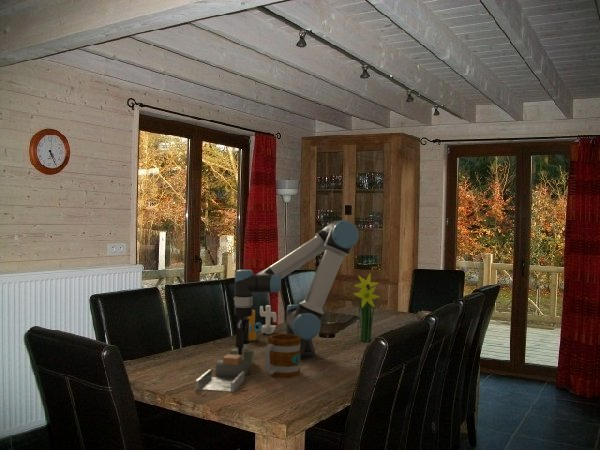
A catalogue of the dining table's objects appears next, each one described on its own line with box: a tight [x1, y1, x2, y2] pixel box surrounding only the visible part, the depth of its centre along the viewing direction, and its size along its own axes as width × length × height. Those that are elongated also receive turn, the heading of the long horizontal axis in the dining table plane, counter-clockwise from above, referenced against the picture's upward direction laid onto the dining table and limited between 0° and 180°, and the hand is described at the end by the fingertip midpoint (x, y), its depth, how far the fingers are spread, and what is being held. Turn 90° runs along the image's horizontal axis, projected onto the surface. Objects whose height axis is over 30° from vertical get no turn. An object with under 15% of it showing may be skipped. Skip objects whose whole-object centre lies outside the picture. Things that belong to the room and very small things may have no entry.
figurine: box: [259, 304, 277, 335], centre depth 311 cm, size 7×9×15 cm
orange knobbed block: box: [248, 309, 263, 342], centre depth 293 cm, size 12×10×15 cm
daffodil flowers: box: [352, 272, 381, 344], centre depth 292 cm, size 17×15×35 cm
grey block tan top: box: [215, 354, 250, 378], centre depth 228 cm, size 13×13×7 cm
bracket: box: [194, 368, 246, 393], centre depth 212 cm, size 14×16×4 cm
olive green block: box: [230, 347, 255, 367], centre depth 243 cm, size 9×5×6 cm, turn 84°
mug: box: [264, 333, 301, 379], centre depth 226 cm, size 20×14×15 cm
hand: (242, 360), depth 243 cm, fingers closed on olive green block, 5 cm apart
